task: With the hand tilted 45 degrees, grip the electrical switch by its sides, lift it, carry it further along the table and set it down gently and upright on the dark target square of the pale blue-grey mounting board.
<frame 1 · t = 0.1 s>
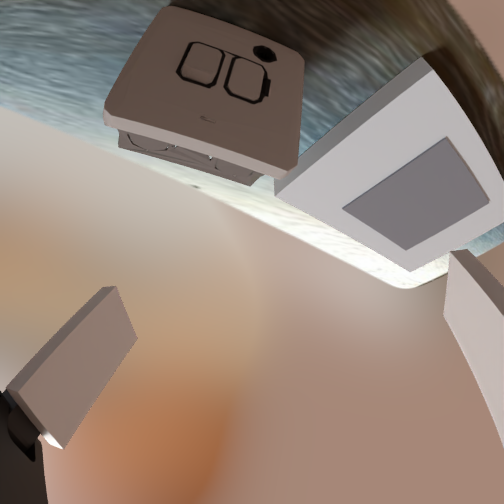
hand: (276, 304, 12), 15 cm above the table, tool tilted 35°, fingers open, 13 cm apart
mounting board: (417, 187, 27), on the table
electrical switch: (223, 58, 18), on the table
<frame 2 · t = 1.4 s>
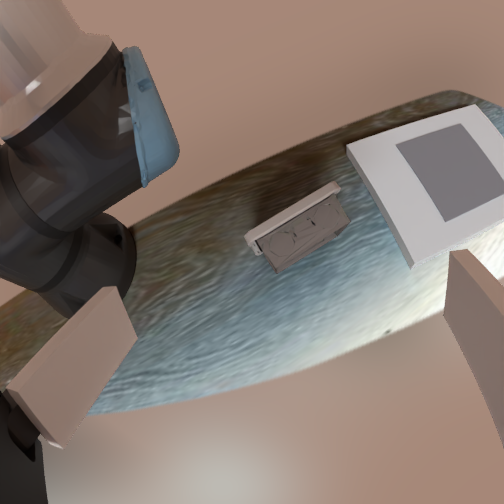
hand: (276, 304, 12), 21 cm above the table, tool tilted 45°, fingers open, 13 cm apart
mounting board: (451, 176, 33), on the table
electrical switch: (304, 247, 35), on the table
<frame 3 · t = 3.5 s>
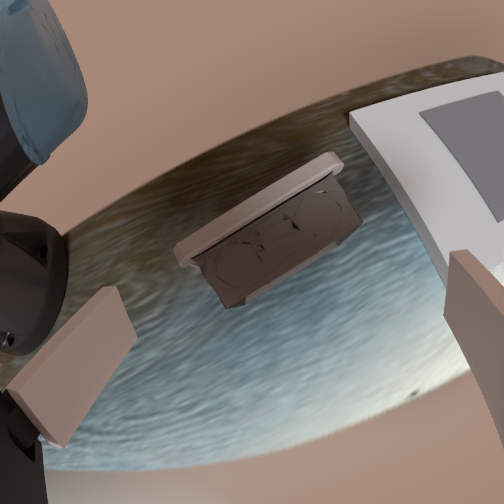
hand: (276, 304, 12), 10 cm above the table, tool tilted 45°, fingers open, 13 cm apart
mounting board: (493, 159, 21), on the table
electrical switch: (288, 263, 23), on the table
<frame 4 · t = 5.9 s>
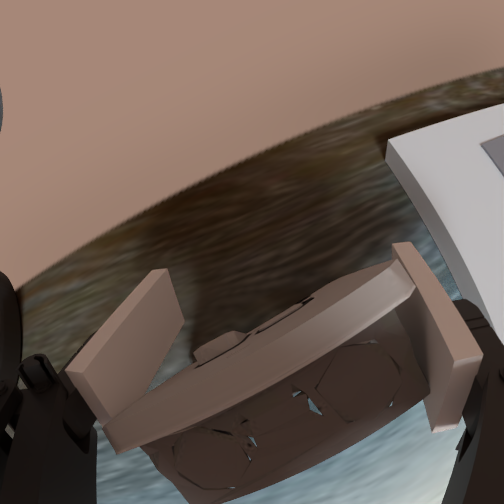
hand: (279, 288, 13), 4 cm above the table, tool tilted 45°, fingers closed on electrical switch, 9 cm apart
electrical switch: (293, 370, 15), on the table, touching gripper
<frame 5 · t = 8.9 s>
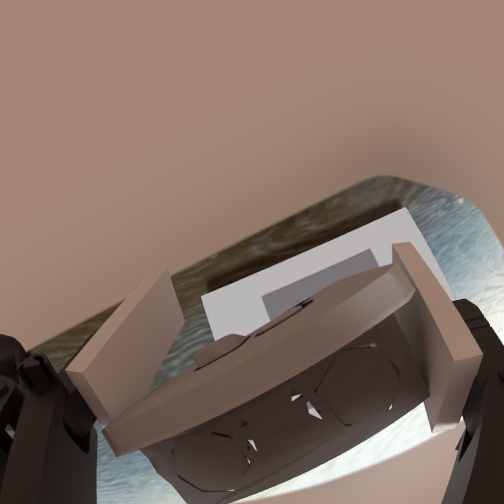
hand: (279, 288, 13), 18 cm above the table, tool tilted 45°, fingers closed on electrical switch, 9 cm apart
mounting board: (340, 331, 29), on the table
electrical switch: (293, 372, 15), point 14 cm above the table, touching gripper
when the fingers open (7 cm above the table, at t = 11.9 s): electrical switch stays where it is, resting on mounting board.
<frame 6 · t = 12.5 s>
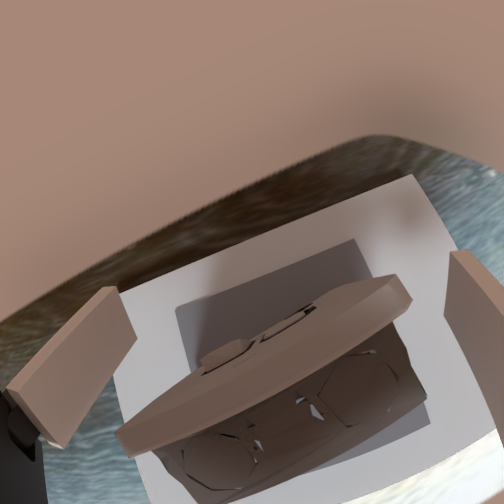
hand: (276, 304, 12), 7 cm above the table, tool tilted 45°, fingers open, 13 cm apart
mounting board: (300, 371, 17), on the table
electrical switch: (296, 374, 16), point 2 cm above the table, touching mounting board
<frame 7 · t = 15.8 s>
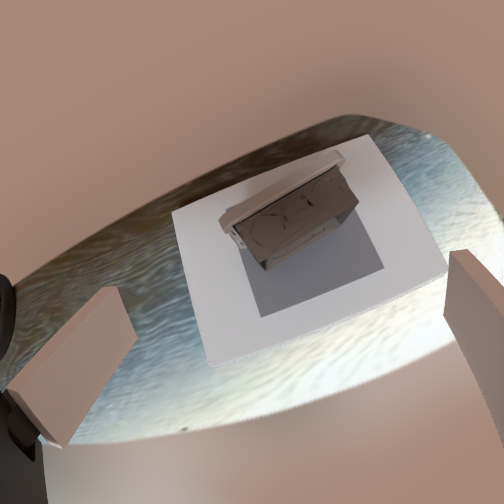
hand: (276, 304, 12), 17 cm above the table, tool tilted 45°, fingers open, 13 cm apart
mounting board: (302, 245, 30), on the table
electrical switch: (300, 239, 28), point 2 cm above the table, touching mounting board
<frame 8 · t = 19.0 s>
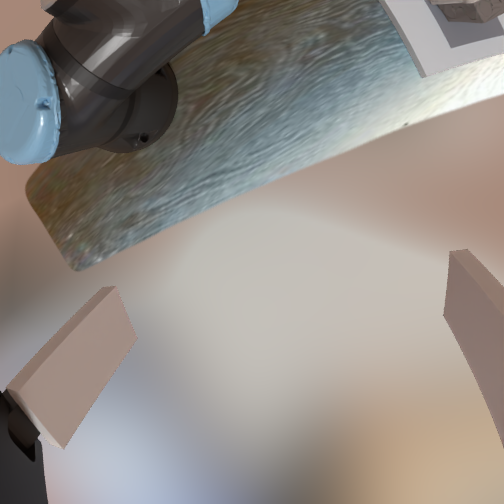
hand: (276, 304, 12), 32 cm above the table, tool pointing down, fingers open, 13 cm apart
mounting board: (455, 8, 27), on the table
electrical switch: (461, 6, 25), point 2 cm above the table, touching mounting board
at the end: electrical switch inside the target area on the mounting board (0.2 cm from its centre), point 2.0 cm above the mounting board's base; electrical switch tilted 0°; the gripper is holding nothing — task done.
